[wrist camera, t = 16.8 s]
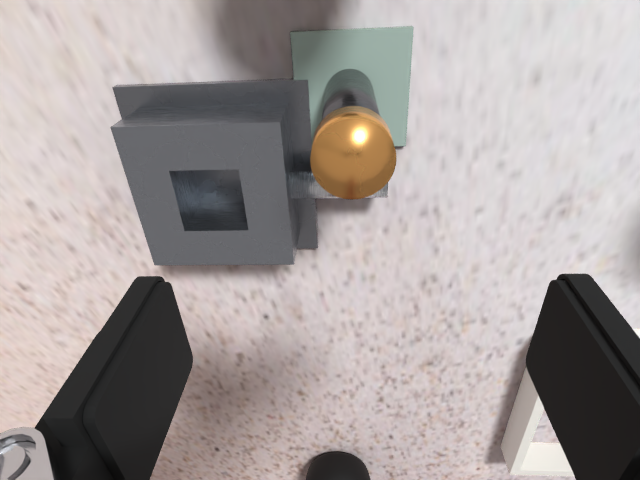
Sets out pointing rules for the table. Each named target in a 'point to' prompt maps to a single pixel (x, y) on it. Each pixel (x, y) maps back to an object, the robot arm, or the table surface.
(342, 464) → the cola bottle
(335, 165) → the grey and gold cylinder
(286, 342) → the table surface
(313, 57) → the pad
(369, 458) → the table surface
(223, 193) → the block
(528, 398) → the lunch corral
